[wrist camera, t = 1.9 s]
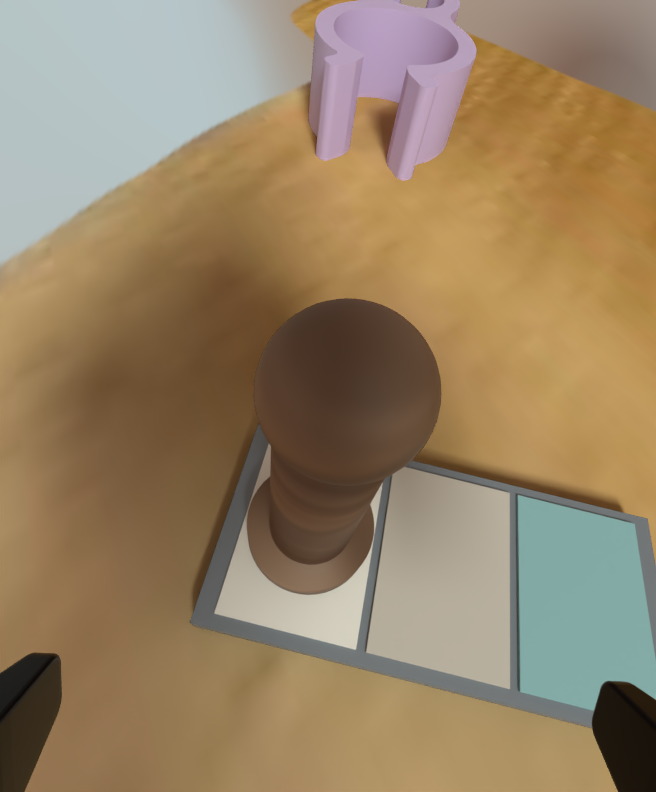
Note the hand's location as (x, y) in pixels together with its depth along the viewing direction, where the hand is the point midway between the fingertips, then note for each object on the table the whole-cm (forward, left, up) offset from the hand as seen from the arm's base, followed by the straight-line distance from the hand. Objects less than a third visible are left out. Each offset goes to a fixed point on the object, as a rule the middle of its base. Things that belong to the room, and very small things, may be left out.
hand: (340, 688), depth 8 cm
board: (+7, -2, -12) cm, 14 cm away
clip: (+39, +22, -13) cm, 47 cm away
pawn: (+5, +3, -11) cm, 12 cm away
